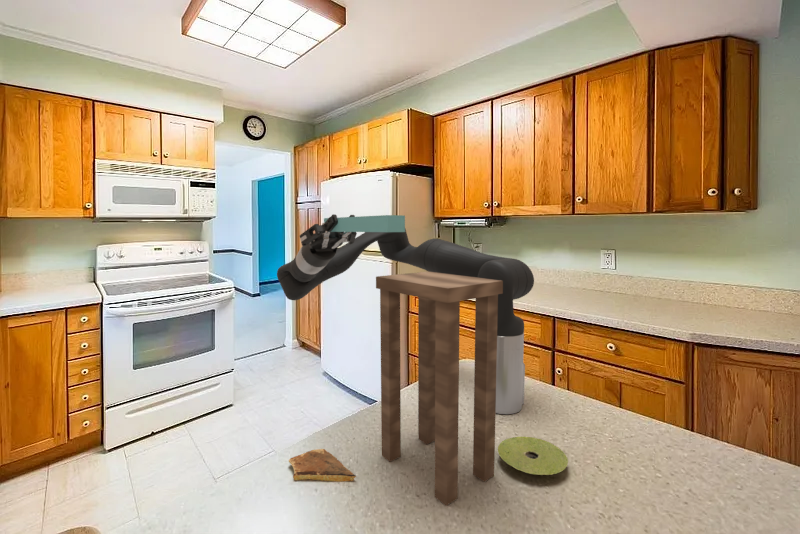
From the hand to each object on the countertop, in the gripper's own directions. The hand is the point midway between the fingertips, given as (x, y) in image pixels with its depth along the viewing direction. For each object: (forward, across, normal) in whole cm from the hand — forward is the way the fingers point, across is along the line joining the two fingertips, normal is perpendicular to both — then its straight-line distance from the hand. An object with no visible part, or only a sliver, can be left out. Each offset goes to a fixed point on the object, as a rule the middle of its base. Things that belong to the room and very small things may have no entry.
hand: (345, 218), depth 84 cm
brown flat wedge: (-7, -15, +46) cm, 49 cm away
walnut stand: (+4, 0, +51) cm, 51 cm away
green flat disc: (+12, +13, +56) cm, 59 cm away
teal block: (+4, 0, +6) cm, 7 cm away
